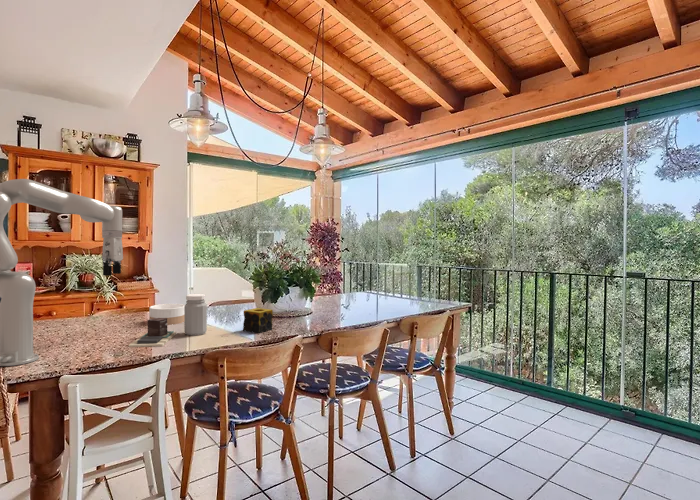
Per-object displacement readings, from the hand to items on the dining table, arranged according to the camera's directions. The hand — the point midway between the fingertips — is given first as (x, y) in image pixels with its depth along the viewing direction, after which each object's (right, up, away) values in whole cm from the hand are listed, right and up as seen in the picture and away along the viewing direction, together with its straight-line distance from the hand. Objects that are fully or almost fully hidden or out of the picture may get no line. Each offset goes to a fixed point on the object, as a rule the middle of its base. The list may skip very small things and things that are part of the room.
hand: (112, 274), depth 179 cm
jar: (+31, -28, +14) cm, 44 cm away
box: (+17, -28, +6) cm, 33 cm away
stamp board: (+18, -28, +1) cm, 33 cm away
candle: (+58, -29, +22) cm, 68 cm away
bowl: (+7, -28, +39) cm, 48 cm away
